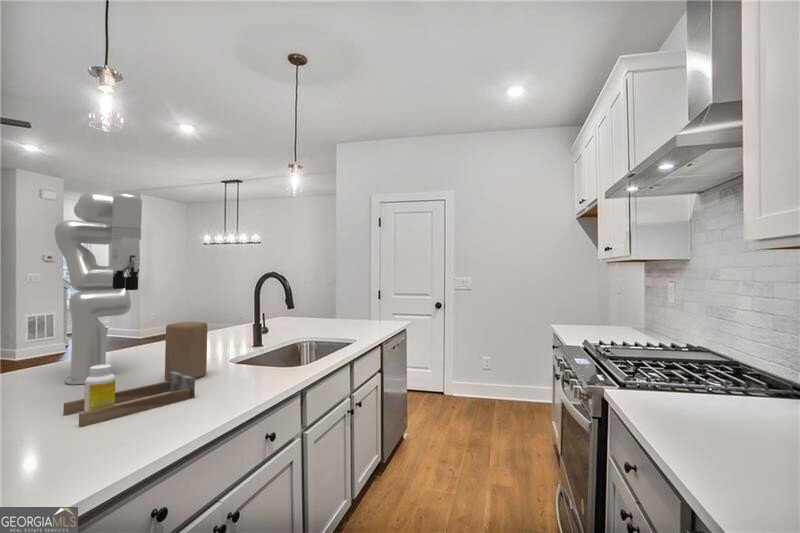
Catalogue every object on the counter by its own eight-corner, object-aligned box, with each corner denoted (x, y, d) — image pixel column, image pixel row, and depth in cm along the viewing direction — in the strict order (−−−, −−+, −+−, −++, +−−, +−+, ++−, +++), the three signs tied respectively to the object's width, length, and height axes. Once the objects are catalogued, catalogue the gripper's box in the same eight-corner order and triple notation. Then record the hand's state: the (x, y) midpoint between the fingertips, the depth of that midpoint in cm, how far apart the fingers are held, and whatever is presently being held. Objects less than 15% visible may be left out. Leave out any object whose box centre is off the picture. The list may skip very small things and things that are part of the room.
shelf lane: (63, 414, 103) (63, 392, 103) (172, 389, 126) (173, 370, 126) (80, 427, 95) (81, 402, 95) (194, 397, 118) (194, 378, 118)
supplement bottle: (120, 411, 106) (121, 365, 106) (92, 419, 100) (93, 370, 100) (106, 407, 108) (107, 362, 109) (78, 415, 102) (79, 367, 103)
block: (187, 382, 133) (188, 325, 133) (163, 380, 135) (164, 324, 135) (207, 375, 143) (208, 322, 143) (184, 373, 145) (185, 321, 145)
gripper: (101, 234, 120) (100, 288, 120) (123, 232, 110) (122, 291, 110) (129, 236, 126) (127, 288, 126) (152, 234, 116) (150, 290, 116)
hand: (125, 289), depth 118 cm, fingers open, 9 cm apart
